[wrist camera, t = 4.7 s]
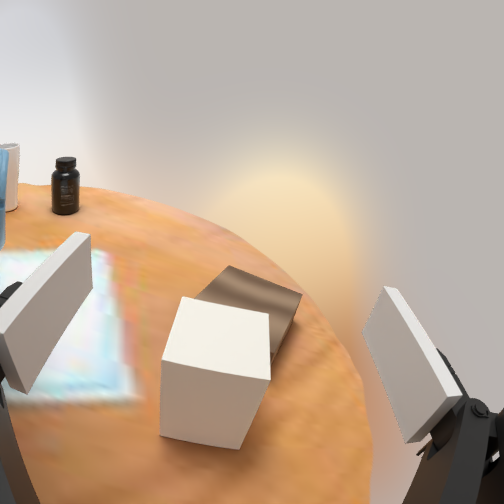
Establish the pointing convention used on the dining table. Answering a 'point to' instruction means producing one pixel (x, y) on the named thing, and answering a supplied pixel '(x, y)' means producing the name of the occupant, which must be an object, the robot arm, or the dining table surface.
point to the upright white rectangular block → (213, 373)
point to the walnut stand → (255, 300)
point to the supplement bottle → (65, 186)
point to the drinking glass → (12, 175)
